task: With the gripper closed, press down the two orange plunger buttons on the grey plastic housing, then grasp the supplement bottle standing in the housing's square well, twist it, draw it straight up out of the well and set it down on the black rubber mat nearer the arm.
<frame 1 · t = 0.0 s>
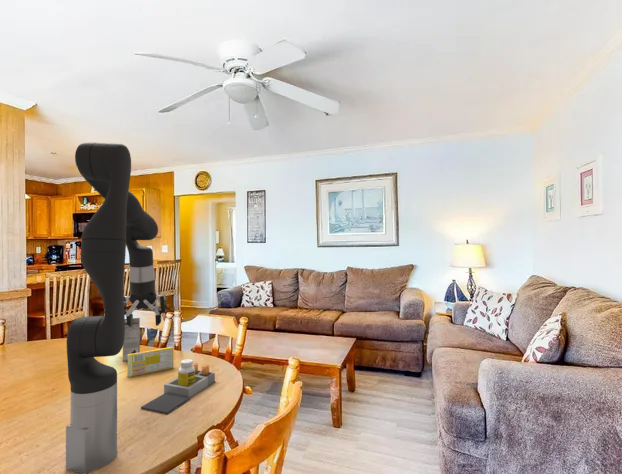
hand: (144, 325, 115), 22 cm above the table, tool pointing down, fingers open, 8 cm apart
plunger a: (205, 369, 122), point 4 cm above the table, slide at 0.0 cm
plunger b: (194, 368, 124), point 5 cm above the table, slide at 0.0 cm
coffee box: (131, 357, 149), on the table
candy box: (151, 372, 133), on the table
mat: (166, 404, 106), on the table
housing: (186, 389, 117), on the table
supplement bottle: (186, 390, 117), resting in housing
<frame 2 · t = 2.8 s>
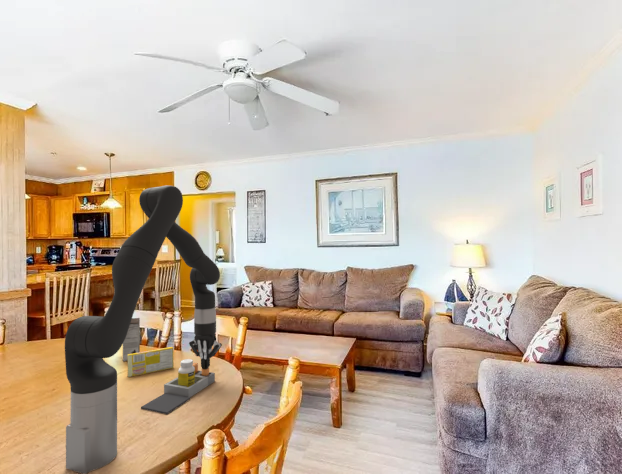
hand: (205, 368, 123), 5 cm above the table, tool pointing down, fingers closed
plunger a: (205, 372, 122), point 3 cm above the table, slide at 1.1 cm, touching gripper
everything else where it was.
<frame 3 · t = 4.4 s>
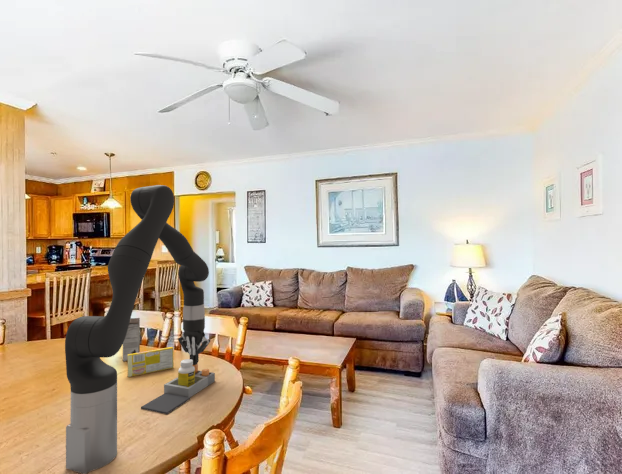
hand: (194, 364, 124), 6 cm above the table, tool pointing down, fingers closed
plunger a: (205, 374, 122), point 3 cm above the table, slide at 1.6 cm
plunger b: (194, 368, 124), point 4 cm above the table, slide at 0.1 cm, touching gripper
everything else where it was.
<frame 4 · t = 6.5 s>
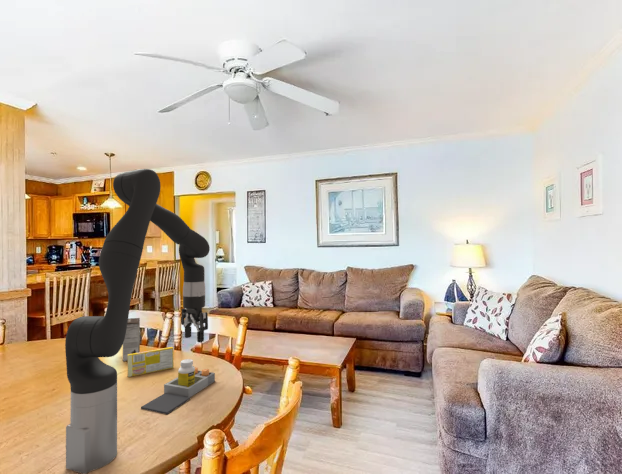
hand: (194, 339, 122), 16 cm above the table, tool pointing down, fingers open, 8 cm apart
plunger b: (194, 372, 124), point 3 cm above the table, slide at 1.6 cm
everything else where it was.
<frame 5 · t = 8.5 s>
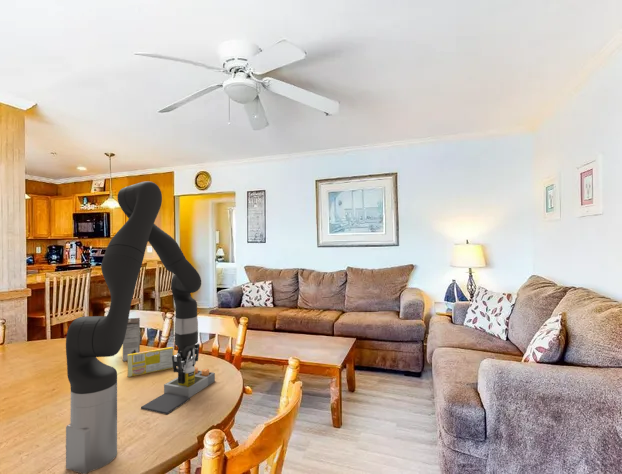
hand: (186, 379, 117), 4 cm above the table, tool pointing down, fingers closed on supplement bottle, 5 cm apart
supplement bottle: (186, 390, 117), resting in housing, touching gripper
everything else where it was.
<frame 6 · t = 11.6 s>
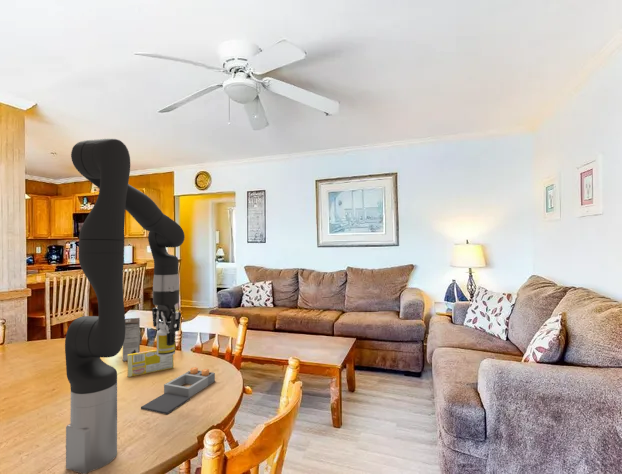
hand: (165, 342, 106), 19 cm above the table, tool pointing down, fingers closed on supplement bottle, 5 cm apart
supplement bottle: (166, 354, 106), point 15 cm above the table, touching gripper
everything else where it was.
when the fingers open (5 cm above the table, at t = 14.7 s): supplement bottle drops 1 cm, resting on mat.
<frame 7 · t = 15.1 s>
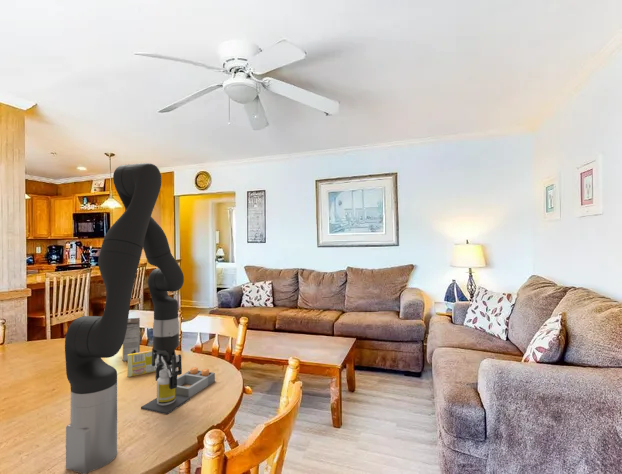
hand: (166, 384, 106), 6 cm above the table, tool pointing down, fingers open, 8 cm apart
supplement bottle: (166, 402, 106), resting on mat
everything else where it was.
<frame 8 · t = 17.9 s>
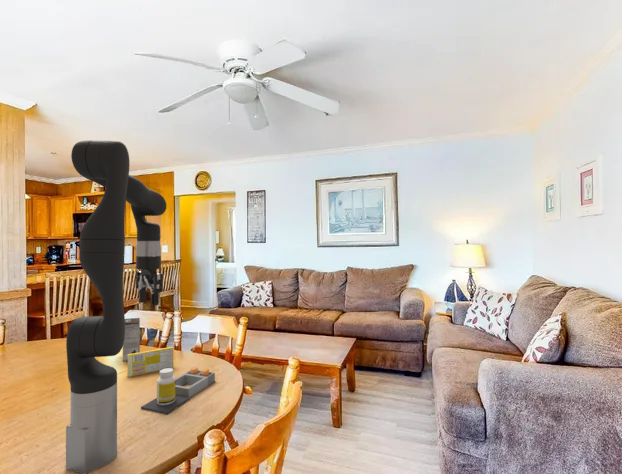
hand: (148, 303, 113), 30 cm above the table, tool pointing down, fingers open, 8 cm apart
nothing on the table moved.
at the end: supplement bottle inside the target area on the mat (0.1 cm from its centre), point 0.4 cm above the mat's base; plunger a slide at 1.6 cm; plunger b slide at 1.6 cm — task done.
